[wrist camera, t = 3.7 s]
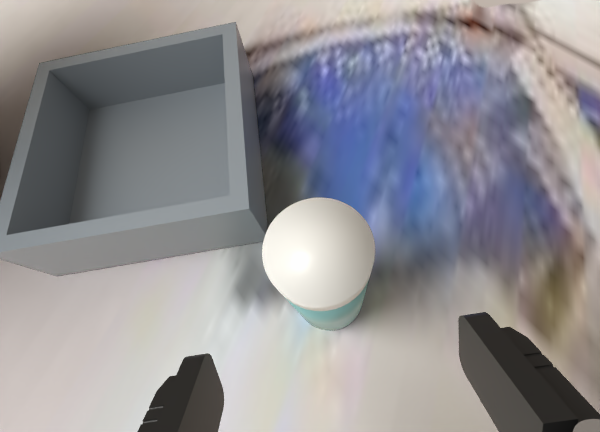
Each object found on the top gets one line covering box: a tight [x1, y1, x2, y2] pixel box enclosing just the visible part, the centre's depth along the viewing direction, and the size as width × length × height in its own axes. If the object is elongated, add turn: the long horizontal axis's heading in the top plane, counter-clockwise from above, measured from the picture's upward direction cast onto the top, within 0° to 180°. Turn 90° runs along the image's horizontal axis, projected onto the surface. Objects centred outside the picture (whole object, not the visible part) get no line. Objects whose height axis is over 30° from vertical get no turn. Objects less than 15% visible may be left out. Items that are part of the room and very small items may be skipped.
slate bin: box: [0, 22, 268, 276], centre depth 28 cm, size 18×18×6 cm
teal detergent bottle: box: [262, 198, 375, 331], centre depth 19 cm, size 5×5×11 cm
